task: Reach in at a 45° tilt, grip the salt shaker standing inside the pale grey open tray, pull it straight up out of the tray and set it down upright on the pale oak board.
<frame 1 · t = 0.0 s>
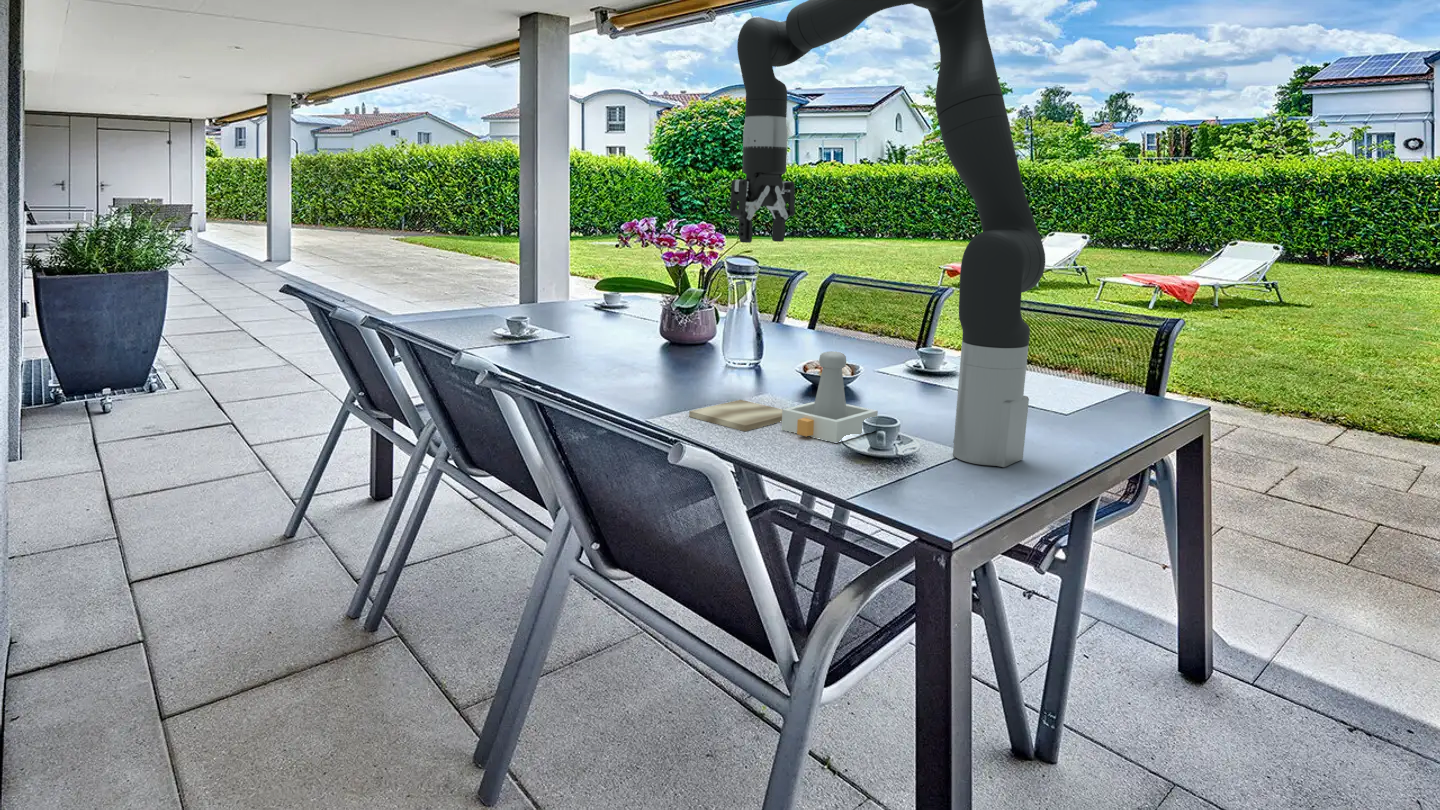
hand: (762, 241, 156), 29 cm above the table, tool pointing down, fingers open, 8 cm apart
oak board: (742, 417, 153), on the table
pale grey open tray: (829, 430, 146), on the table
salt shaker: (829, 432, 146), resting in pale grey open tray
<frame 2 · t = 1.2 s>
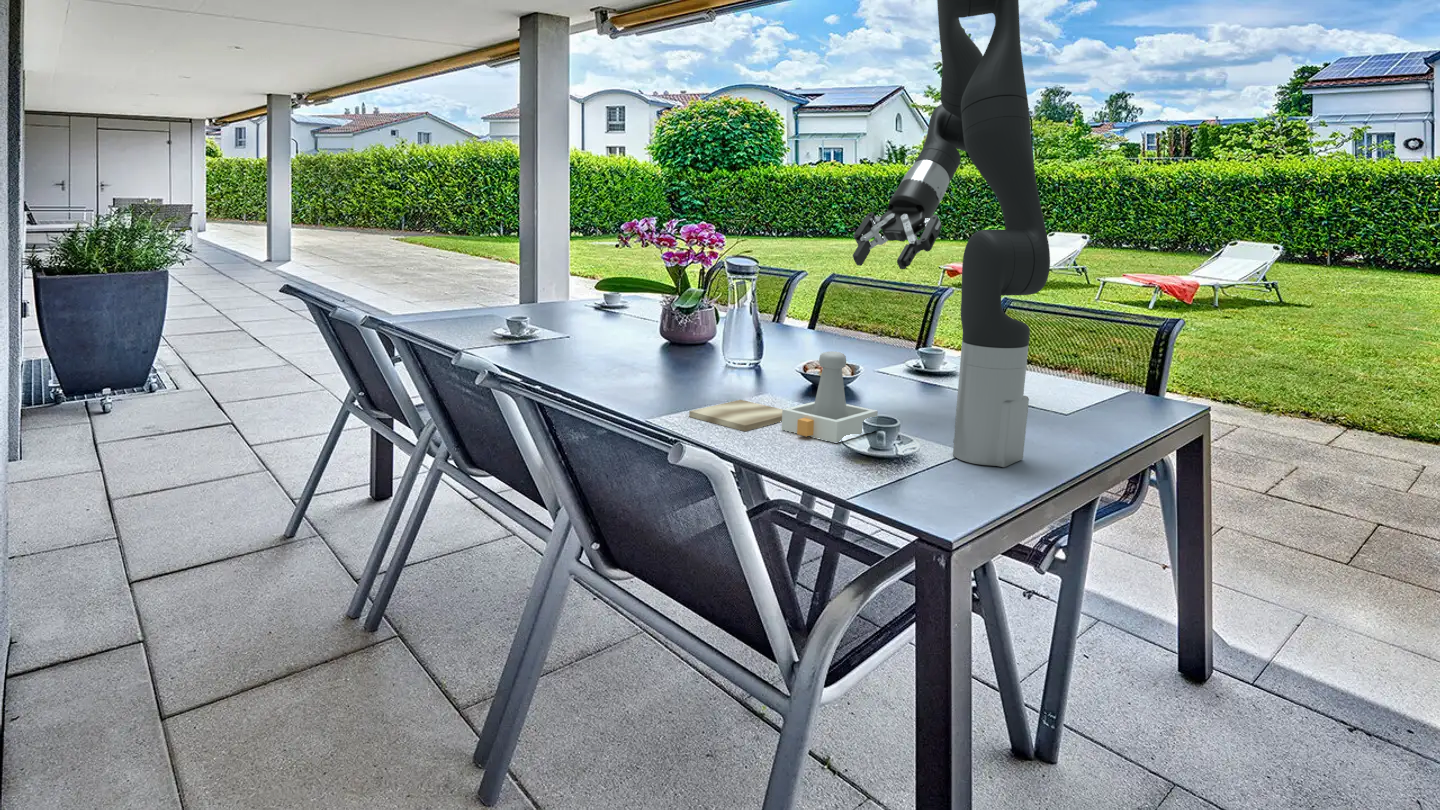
hand: (878, 264, 147), 27 cm above the table, tool tilted 45°, fingers open, 8 cm apart
nothing on the table moved.
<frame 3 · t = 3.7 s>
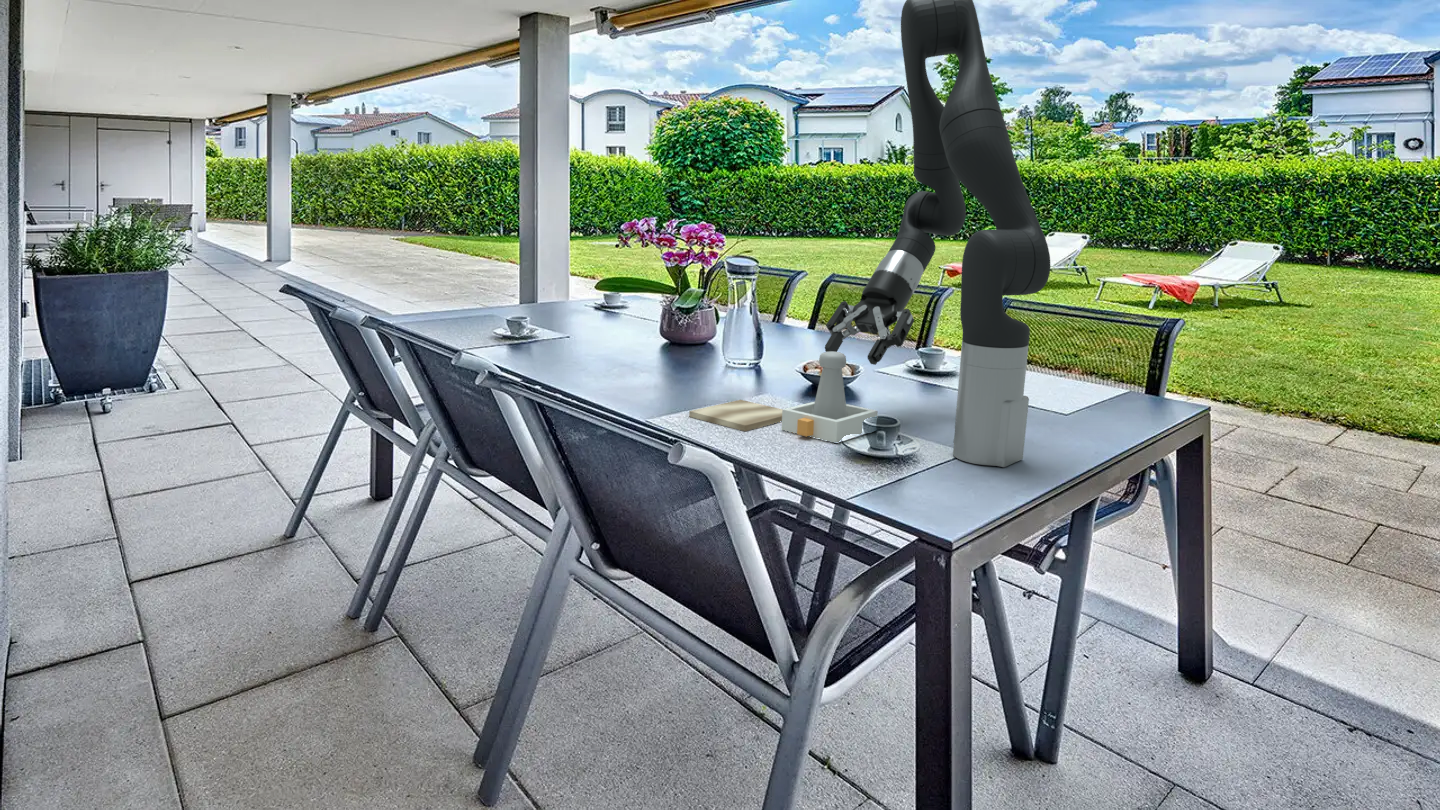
hand: (849, 357, 146), 12 cm above the table, tool tilted 45°, fingers open, 8 cm apart
nothing on the table moved.
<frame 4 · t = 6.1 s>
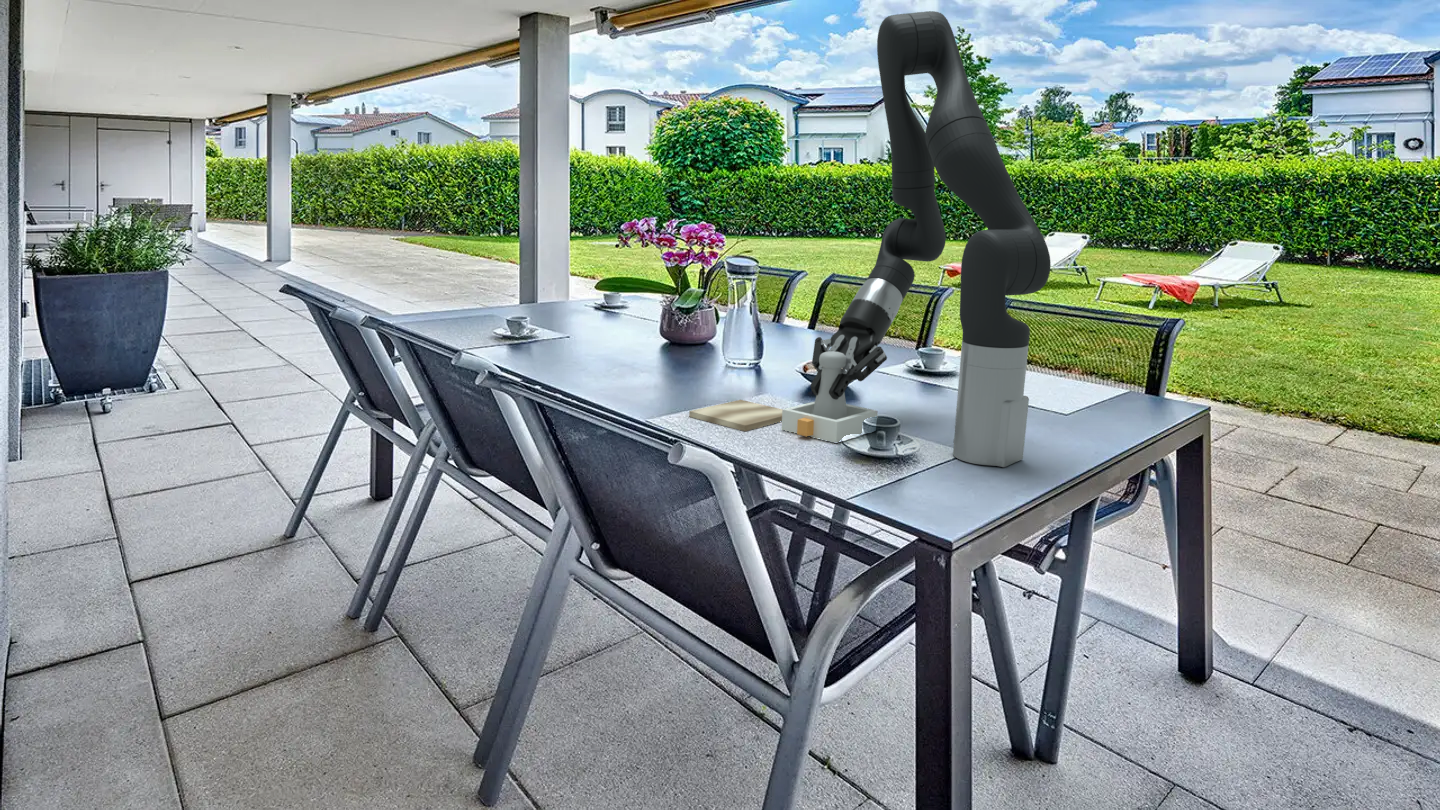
hand: (823, 394, 143), 6 cm above the table, tool tilted 45°, fingers closed on salt shaker, 3 cm apart
salt shaker: (829, 432, 146), resting in pale grey open tray, touching gripper
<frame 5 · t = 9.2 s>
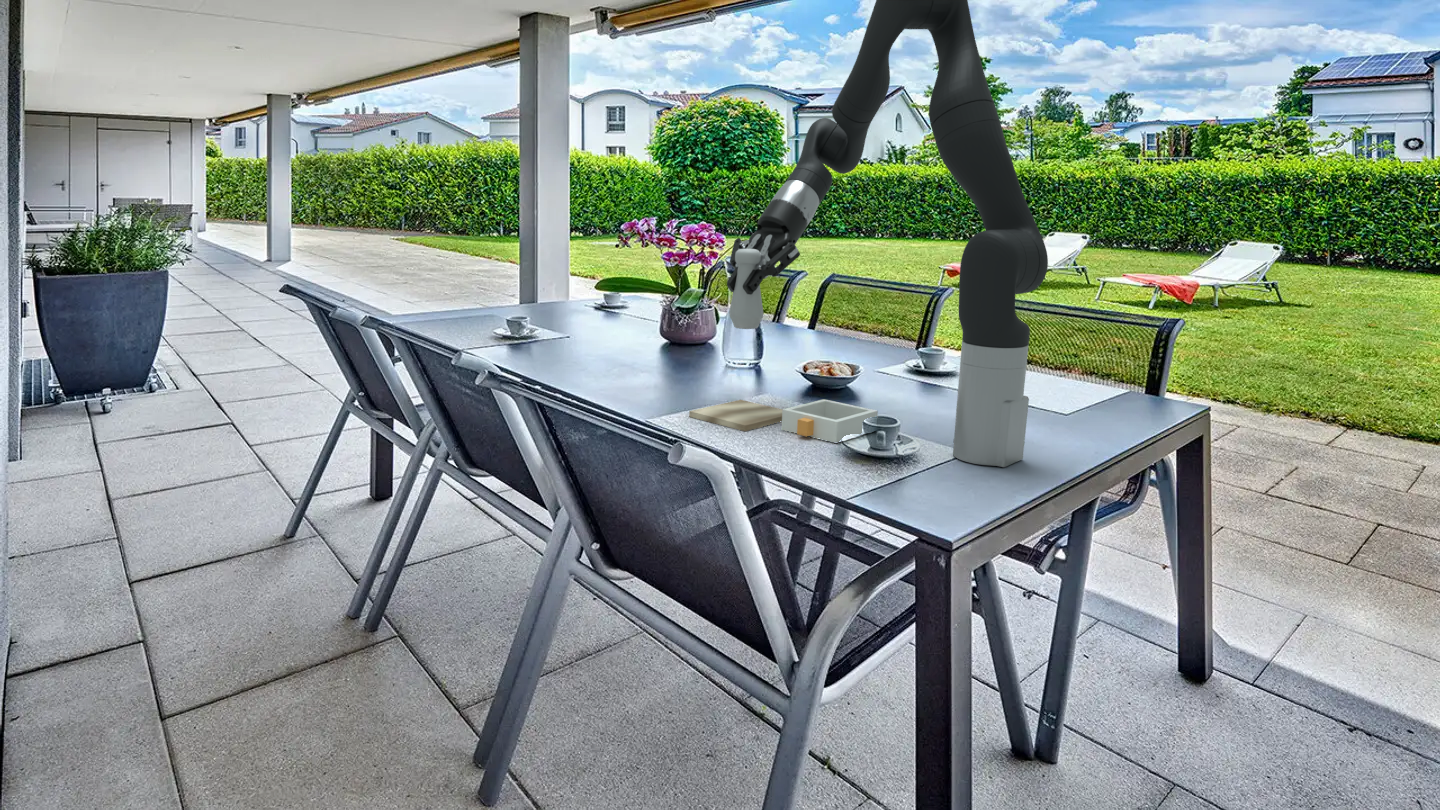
hand: (738, 289, 147), 22 cm above the table, tool tilted 45°, fingers closed on salt shaker, 3 cm apart
salt shaker: (746, 328, 150), point 15 cm above the table, touching gripper
when the fingers open (9 cm above the table, at t = 12.4 s): salt shaker drops 1 cm, resting on oak board.
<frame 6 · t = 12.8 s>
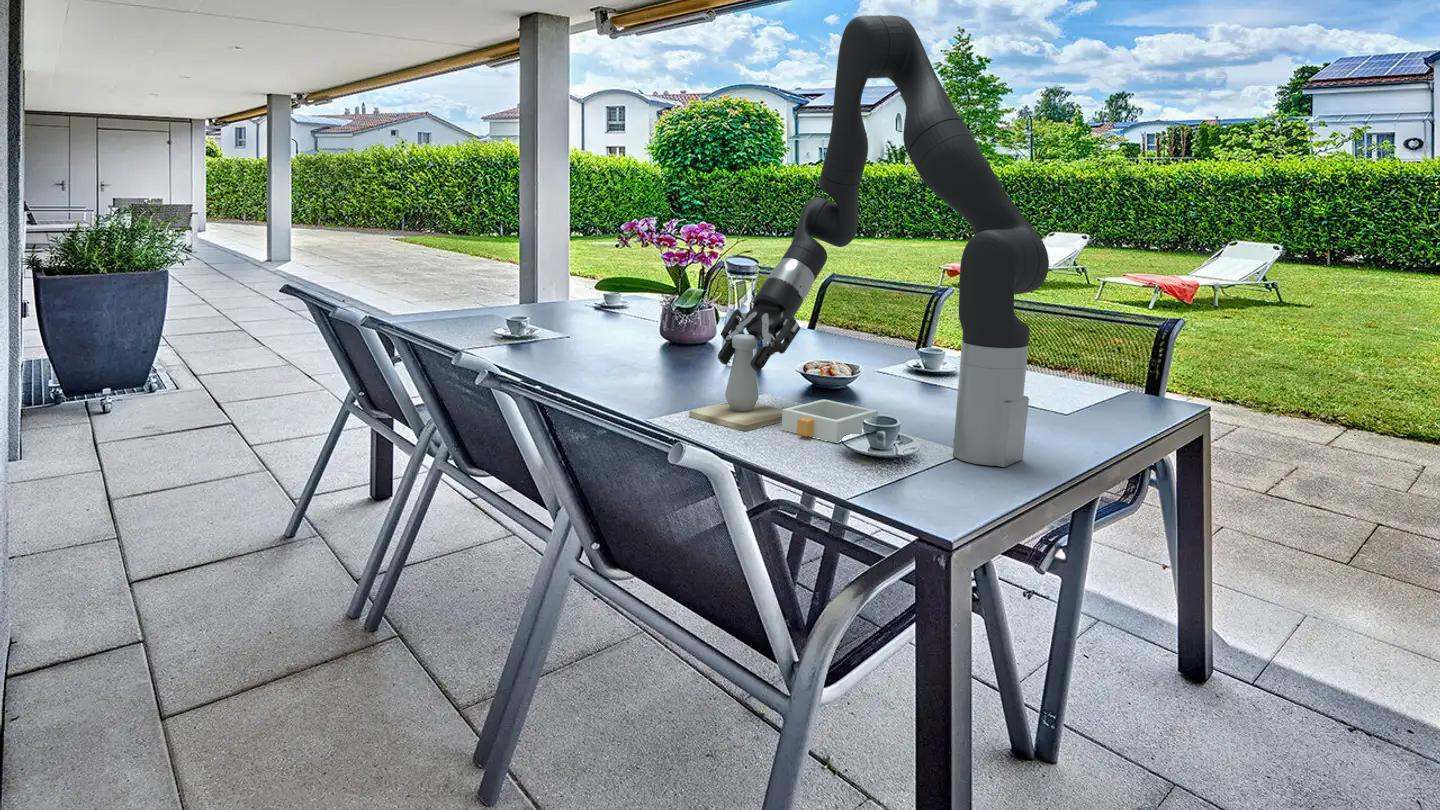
hand: (737, 364, 150), 9 cm above the table, tool tilted 45°, fingers open, 7 cm apart
salt shaker: (741, 409, 155), point 1 cm above the table, touching gripper, oak board
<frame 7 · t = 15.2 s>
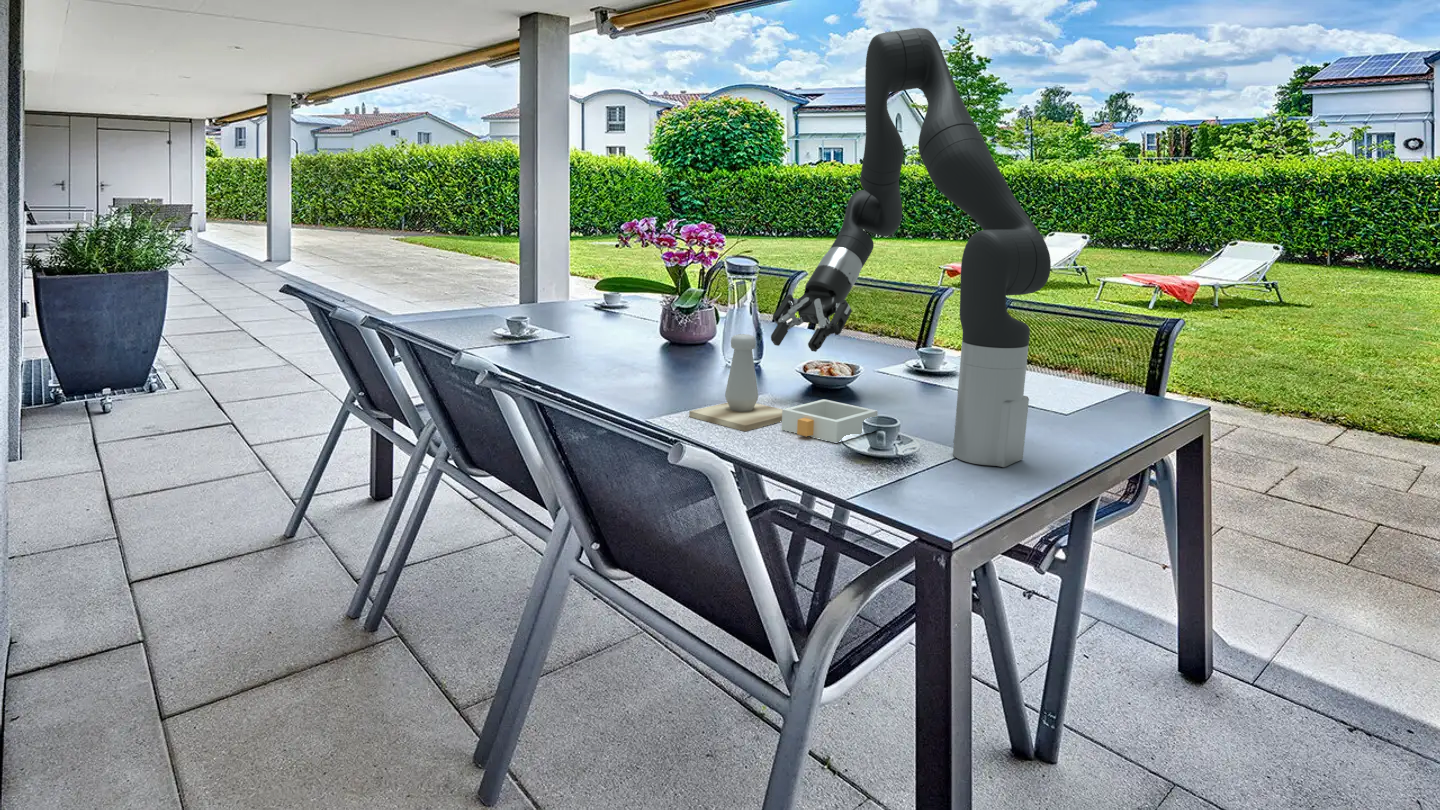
hand: (792, 345, 158), 11 cm above the table, tool tilted 45°, fingers open, 8 cm apart
salt shaker: (741, 410, 155), point 1 cm above the table, touching oak board
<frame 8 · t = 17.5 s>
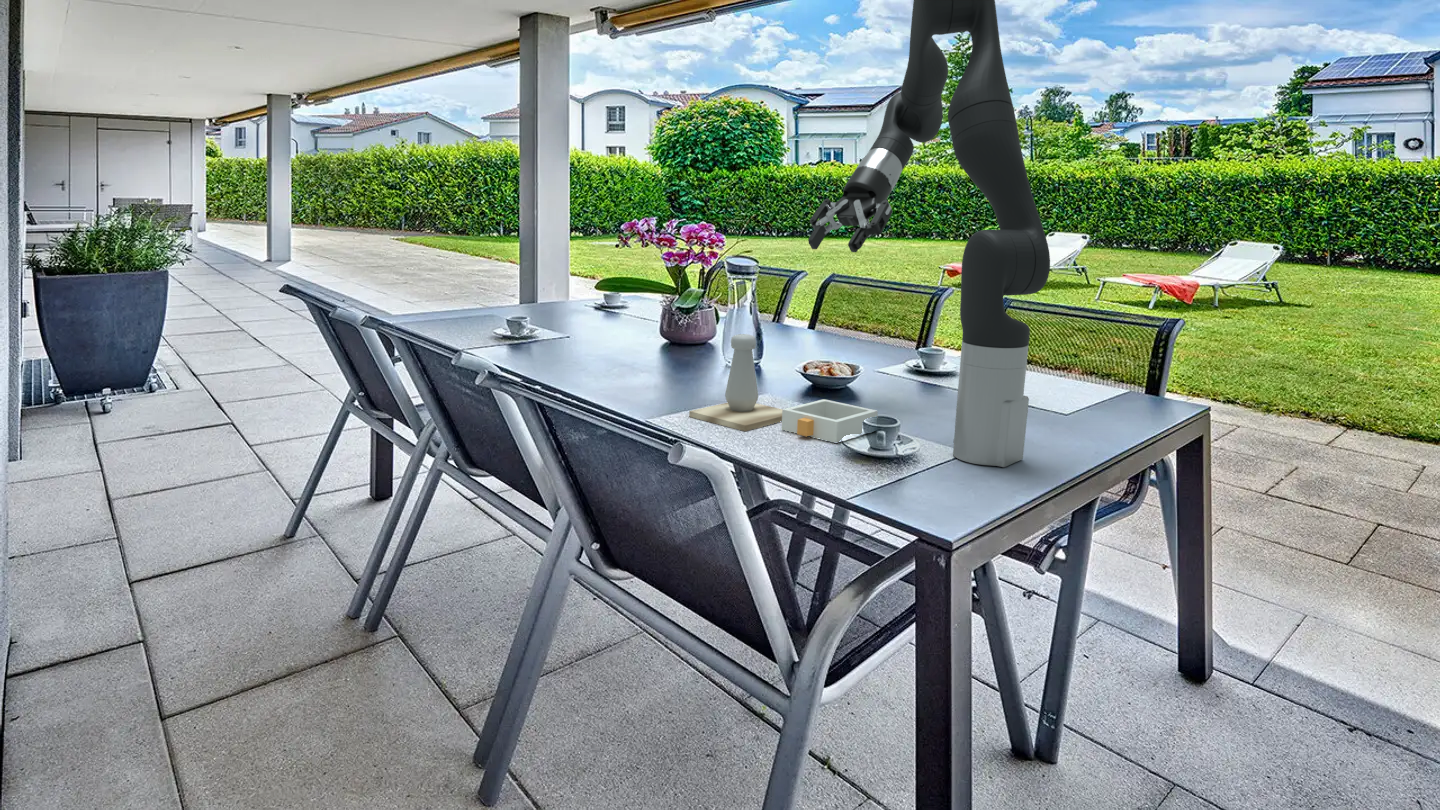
hand: (831, 247, 154), 29 cm above the table, tool tilted 45°, fingers open, 8 cm apart
nothing on the table moved.
at the end: salt shaker inside the target area on the oak board (2.0 cm from its centre), point 0.8 cm above the oak board's base; salt shaker tilted 0°; the gripper is holding nothing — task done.
